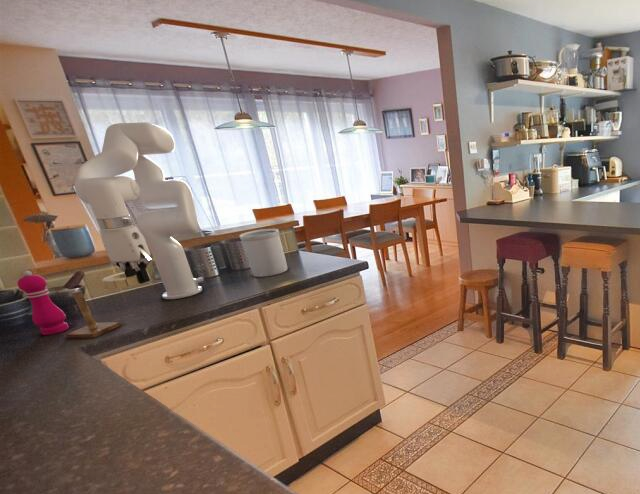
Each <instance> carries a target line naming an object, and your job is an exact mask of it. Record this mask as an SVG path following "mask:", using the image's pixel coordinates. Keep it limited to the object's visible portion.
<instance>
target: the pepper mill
mask: <svg viewBox="0 0 640 494" xmlns="http://www.w3.org/2000/svg"><path fill="white" fill-rule="evenodd" d="M22 275H23V277H20V278H19V279H18V281H17V287H18V289H19V290H21V291H23V292H24V295H25V298H28V299H29V301H30V303H31V305H32V313H31V320H32V322H33V324H34V325H35V326H36V327H40V328H39V331H40V333H41V335H42V336H49V335H55V334H58V333H59V334H60V333H62V332H65V331H67V330H69V328H70V327H69V325H68V323H67V322H66V321H65V320H66V318H67V316H66V314H65V312H64V311H63V310H62V309H61V308H59V307H58V306H57V305H56V304H55V303H54V302H53V301H52V299H51V298H50V296H49V294H50V291H49V290H48V288H46V287H47V286H48V284H47V283H48V282H47V280H46V278H44V277H43V276H41V275H37V274H33V273H32V271H30V270H24V271H23V272H22Z"/></svg>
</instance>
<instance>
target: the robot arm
mask: <svg viewBox="0 0 640 494" xmlns="http://www.w3.org/2000/svg"><path fill="white" fill-rule="evenodd" d="M101 148H102V149H101V152H100V153H97V154H96V155H94V156H93V157H91V158H90V159H88V160H87V161H86V162H83V164H81V165H80V167H78V169H77V173H76V177H75V181H74V189H75V193H76V195H77V197H78V199H79V200H80V201H81V202H83V203H85V204H86V205H87V204H88V205H89V206H90V208H91V210H92V213H93V216H94V217H95V220H96V222H97V224H98V228H99V229H100V230H99V232H100V237H101V241H102V244H103V247H104V250H105V252H106V254H107V257H108V258H109V263H111V264H112V265H116V266H117V267H118V268H120V270H121V271H122V272H125V275H126V277H130V276H134V275H136V276H137V278H138V281H139V283H140V284H139V285H142V284H145V283H147V282H150V281H151V278H150V279H149V276H150V275H149V276H148V274H149V273H148V274H147V271H148V270H147V268H148V264H149V263H151V262H152V261H154V263H155V266H156V269H157V272H158V274H159V276H160V280H161V282H162V285H163V287H164V289H165V292H163V294H162V296H161V297H162V299H164V300H177V299H178V300H179V299H183V298H188V297H191V296H194V295H197V294H199V293H201V292H203V287H202V286H200V285H199V284H200V283H203V282H204V281H205V278H204V277H203V276H200V277H197V278H195V277H194V276H193V273H192V270H191V267H190V264H189V261H188V259H187V256H186V253H185V250H184V247H183V245H182V244H181V243H180V242H178V240H176V239H175V238H173V237H177V236H186V235H193V234H195V233H196V232H197V231H198V230H199V222H198V216H197V211H196V205H195V200H194V196H193V193H192V189H191V188H190V186H189V184H188V183H187V182H185V181H184V180H181V179H168V180H167V179H166V177H165V173H164V169H163V168H162V167H161V166H160V165H159V164H158V163H157V162H155V161H154V160H152V159H151V158H150V157H148V156H147V155H165V154H166V155H167V154H172V153H173V152H174V151H175V149H176V143H175V139H174V137H173V135H172V133H170V131H169V130H168V129H166V128H164V127H163V126H160V125H157V124H155V123H151V122H148V121H147V122H145V121H144V122H143V121H141V122H139V121H138V122H119V123H112V124H110V125H108V127H107V128H106V130H105V134H104V137H103V143H102V147H101ZM130 171H133V175H134V179H133V178H131V177H128V176H125V175H123V174H126V173H128V172H130ZM136 200H138V201H139V203H140V205H141V206H142V207H144V208H146V209H150V210H149V211H144V212H141V213H140V214H138V216H136V222H135V223H136V225H134V220H133V218H131V216H130V213H129V211H128V208H127V206H126V203H129V202H134V201H136ZM156 209H157V210H156ZM152 258H153V259H152Z"/></svg>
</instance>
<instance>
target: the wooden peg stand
mask: <svg viewBox="0 0 640 494" xmlns="http://www.w3.org/2000/svg"><path fill="white" fill-rule="evenodd" d="M72 295H73V298H74V301H75V302H76V304H77V307H78V309H79V310H80V313H81V315H82V317H83V320H84V322H85V323H86V325H85V326H83V327H81V328H78V329H76V330H73V331H71V332H69V333H66V334H65V336H66V338H67V339H87V338H88V339H94V338H96V337H98V336H101V335H104V334H105V333H108V332H109V331H112V330H114V329H116V328H118V327H121V326H122V324H121V322H120V321H108V322H107V321H105V322H97V321H96V320H95V318H94V316H93V313H92V312H91V310H90V308H89V305H88V303H87V301H86V299H85V296H84V294H83V292H82V290H75V291H72Z"/></svg>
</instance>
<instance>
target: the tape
mask: <svg viewBox="0 0 640 494" xmlns="http://www.w3.org/2000/svg"><path fill="white" fill-rule="evenodd" d="M146 271H147V274H148V276H149V279H150V280H151V277H150V274H149V271H148V270H146ZM101 282H102V284H103V286H104V288H106V289H108V290H116V289H117V290H118V289H123V288H124V289H125V288H128V287H133V286H138V285H141V284H140V283H139V281H138V278H137V276H136V275H134V276H130V277H126V275H125V271H124V272H123V271H122V272H117V273H115V274H110V275H108V276H105V277H104V278H102V279H101Z"/></svg>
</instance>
